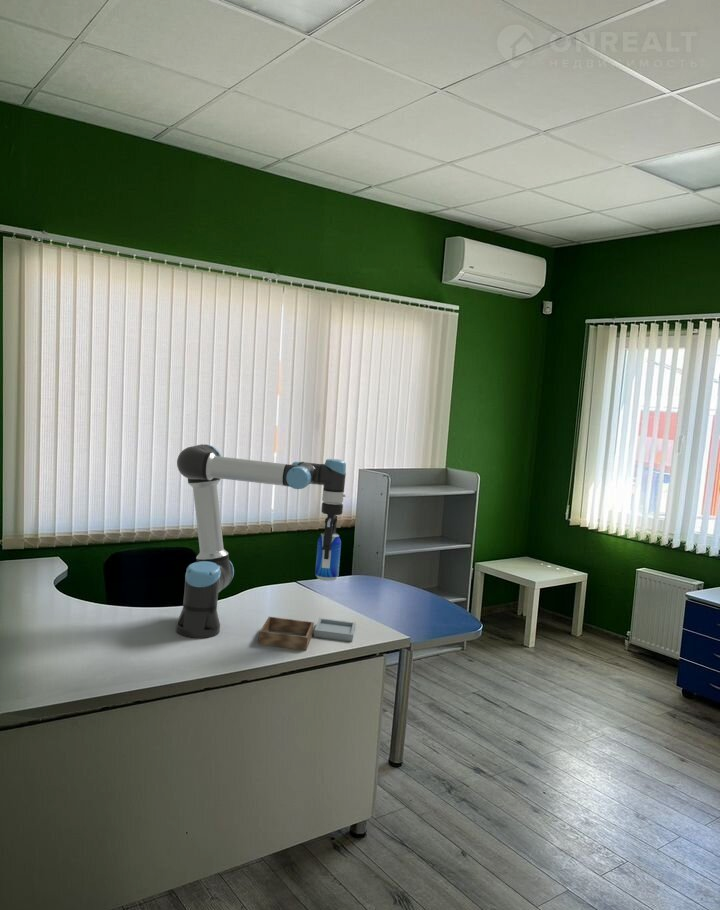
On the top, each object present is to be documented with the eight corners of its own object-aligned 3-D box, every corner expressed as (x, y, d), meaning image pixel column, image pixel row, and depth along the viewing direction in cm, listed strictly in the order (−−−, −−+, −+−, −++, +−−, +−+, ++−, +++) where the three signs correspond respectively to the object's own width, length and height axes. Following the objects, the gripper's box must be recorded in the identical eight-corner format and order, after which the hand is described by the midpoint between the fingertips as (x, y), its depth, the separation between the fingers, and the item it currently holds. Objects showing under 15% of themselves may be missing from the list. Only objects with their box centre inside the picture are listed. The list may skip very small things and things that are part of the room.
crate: (258, 644, 246) (259, 631, 246) (267, 628, 262) (268, 616, 262) (306, 650, 245) (307, 637, 245) (312, 634, 262) (313, 622, 261)
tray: (313, 636, 259) (314, 629, 259) (318, 624, 273) (319, 617, 273) (352, 641, 258) (353, 634, 258) (355, 629, 272) (355, 622, 272)
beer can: (334, 582, 254) (338, 538, 253) (311, 579, 256) (315, 535, 255) (340, 577, 262) (344, 533, 261) (318, 573, 264) (322, 531, 263)
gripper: (339, 508, 246) (334, 573, 248) (346, 499, 267) (341, 559, 269) (317, 505, 247) (312, 570, 249) (326, 497, 268) (321, 557, 270)
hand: (327, 564), depth 259 cm, fingers closed on beer can, 8 cm apart
